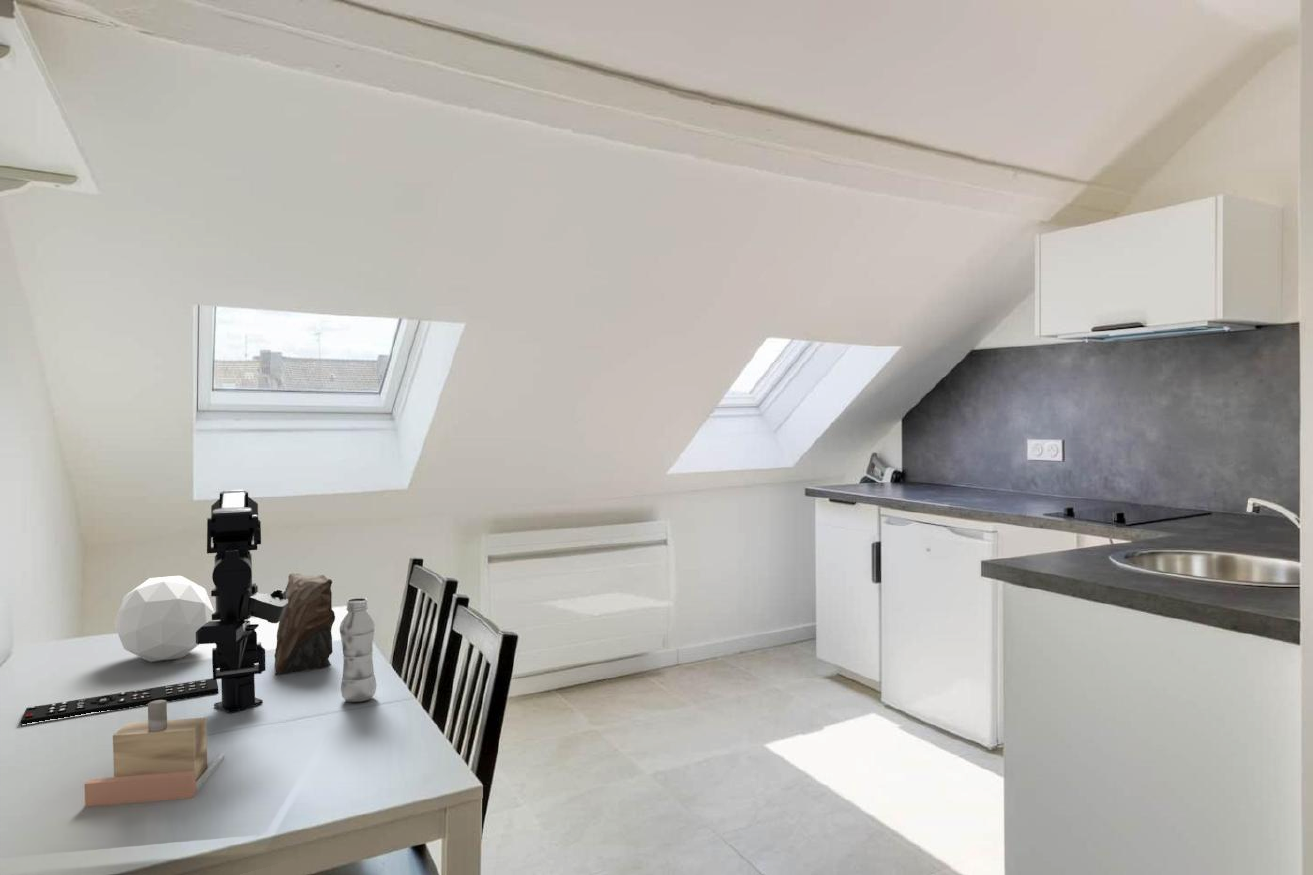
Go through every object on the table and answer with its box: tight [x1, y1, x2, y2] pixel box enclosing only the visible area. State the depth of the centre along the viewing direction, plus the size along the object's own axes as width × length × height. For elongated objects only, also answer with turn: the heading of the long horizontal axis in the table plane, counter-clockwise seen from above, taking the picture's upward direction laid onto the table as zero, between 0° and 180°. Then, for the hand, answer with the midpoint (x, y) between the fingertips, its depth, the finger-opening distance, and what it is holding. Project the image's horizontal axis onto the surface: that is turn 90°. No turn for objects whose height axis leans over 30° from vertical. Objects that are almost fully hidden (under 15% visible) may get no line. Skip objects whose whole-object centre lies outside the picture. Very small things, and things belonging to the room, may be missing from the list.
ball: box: [113, 575, 216, 663], centre depth 185 cm, size 19×20×20 cm
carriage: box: [112, 700, 208, 781], centre depth 121 cm, size 5×11×12 cm, turn 100°
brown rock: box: [274, 573, 336, 677], centre depth 180 cm, size 13×13×20 cm
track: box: [84, 755, 225, 807], centre depth 120 cm, size 13×14×4 cm
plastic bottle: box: [339, 597, 377, 703], centre depth 157 cm, size 6×7×20 cm
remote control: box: [20, 677, 219, 726], centre depth 157 cm, size 8×32×2 cm, turn 122°
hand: (235, 669), depth 139 cm, fingers closed
